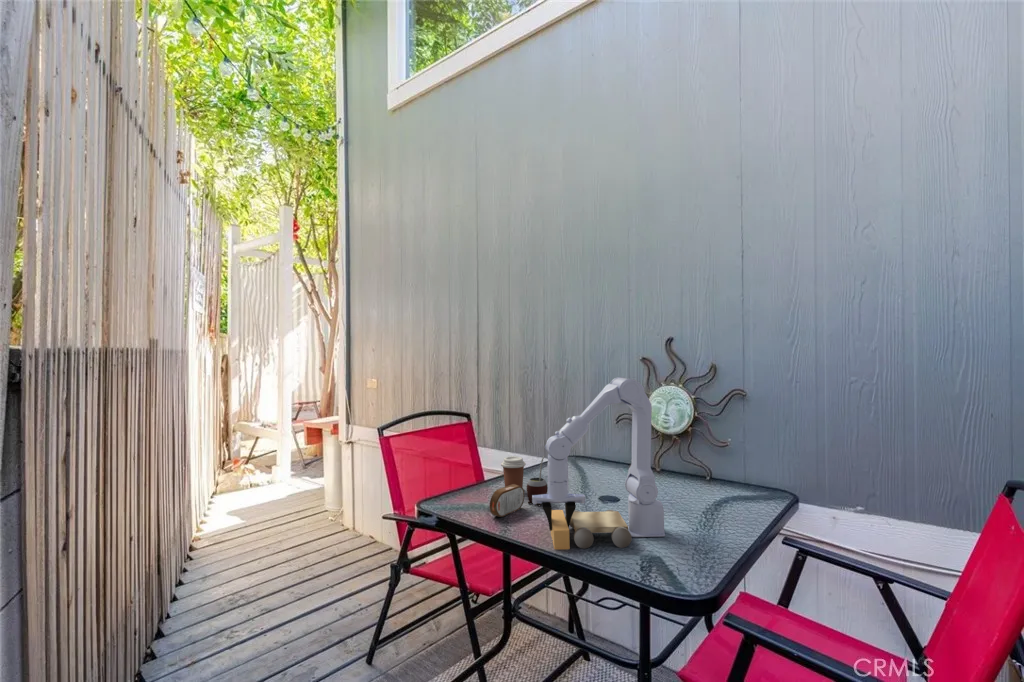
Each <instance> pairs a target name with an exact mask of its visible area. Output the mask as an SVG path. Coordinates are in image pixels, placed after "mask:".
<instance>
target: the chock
mask: <svg viewBox="0 0 1024 682" xmlns="http://www.w3.org/2000/svg"><path fill="white" fill-rule="evenodd" d="M565 517H566V515H565V513H564V510H563V509H552V531H551V532H550V536H551V540H553V541H552V545H553V549H555V550H570V548H571V547H570V527H569V528H568V525H567V522H566V519H565Z"/></svg>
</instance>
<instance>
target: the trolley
mask: <svg viewBox="0 0 1024 682" xmlns="http://www.w3.org/2000/svg"><path fill="white" fill-rule="evenodd" d="M627 525H628V523H626V521H625V519H624V518H623V517H622V515H621V513H620V512H619V511H618V510H617V511H616V510H614V509H607V510H605V511H580V510H576V509H575V511H574V513H573V515H572V517H571V520H570V524H569V527H570V528H572V529H573V530H574V534H573V540H574V544H575V545H576V546H577V547H578V548H580V549H584V550H585V549H588V548H590V547H591V546H592V545H594V544H593V543H594V539H595V538H594V535H593V534H596V533H597V534H598V533H599V534H602V533H603V534H604V533H605V534H606V533H607V534H608V533H611V540H612V542H613V544H614V545H615V546H616V547H617V548H620V549H624V548H627V547H628V546H630V544H631V542H632V538H633V537H631V534H630V532H629V531H628V526H627Z"/></svg>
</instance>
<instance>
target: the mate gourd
mask: <svg viewBox="0 0 1024 682" xmlns="http://www.w3.org/2000/svg"><path fill="white" fill-rule="evenodd" d="M544 459H545V455H542V458H541V461H540V464H539V476H538V477H531V478H529V479H528V481H527V482H526V483H527V484H526V495H527V498H528V503H532V495H542V494H548V482H547V480H545V478H543V477H542V471H543V470H542V469H543V463H544ZM537 504H538V505H541V506H542V503H537ZM537 504H536V505H537ZM538 505H537V506H538Z"/></svg>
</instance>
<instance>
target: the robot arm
mask: <svg viewBox="0 0 1024 682" xmlns="http://www.w3.org/2000/svg"><path fill="white" fill-rule="evenodd" d="M622 402H623V403H624V404H625V405H626V406H627V407H628V408H629V409H630V410H631V411H632V413H631V415H632V416H631V417H632V421H631V464H630V466H629V468H628V470H627V471H628V472H627V477H626V478H625V481H624V488H625V489H626V492H627V493H628V497H627V498H628V499H627V503H628V504H627V507H628V509H627V511H628V524H627V526H628V531H629V532H630V534H631V537H632V538H646V537H648V538H649V537H650V538H652V537H653V538H654V537H656V538H657V537H659V538H661V537H665V536H666V534H665V509H664V506H663V503H662V500H659V499H657V498H658V495H659V494H658V493H659V491H658V490H659V489H658V486H657V485H656V477H655V474H654V472H653V469H652V468H651V467H652V466H651V465H652V464H651V462H652V459H651V457H652V409H653V408H652V402H651V401H650V399H649V397H648V395H647V392H645V386H643V384H641V383H640V382H639V381H637V380H636V379H633V378H625V377H621V376H618V377H615V378H613V379H611V381H610V383H607V384H606V385H605V386H604V387H603V389H602V390H601V391H600V392H599V393H598V394H597V396H596V397H595V398H594V399H593V400H592V401H591V402H590V404H589V405H588V406H587V407H586V408H585V409H584V410H583V412H581V414H579V415H574V416H572V417H568V418H566V420H565V421H566V423H565V424H564V425H563V426H562V427H561V428H560V429H559V430H556V431H555V432H554V434H555V435H552V436H550V437H549V438H548V439H547V441H546V444H545V445H544V449H545V452H547V487H548V489H547V494H542V495H532V503H533V504H532V505H537V503H540V504H541V508H542V509H543V512H544V514H545V517H546V518H547V522H548V528H549V531H552V510H553V508H552V504H564V506H565V507H564V509H565V510H564V511H565V519H566V522H567V525H568V528H569V529H570V525H569V524H570V520H571V517H572V515H573V513H574V511H575V510H576V507H577V505H576V504H577V503H579V504H586V495H585V494H580V493H570V492H569V489H570V488H569V487H570V485H569V463H568V462H569V461H568V459H569V458H568V457H569V456H570V454H571V452H572V449H571V448H572V447H574V446H575V445H576V444H577V443H578V442H579V441H580V440H581V439H582V438H583V437H584V435H585V434H586V433H588V432H589V424H590V423H591V422H593V420H594V419H596V418H597V417H598V415H600V414H601V413H602V412H603V411H604V410H605V409H606V408H607V407H609V406H610V405H611V406H612V405H616V404H617V405H618V404H621V403H622Z"/></svg>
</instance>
